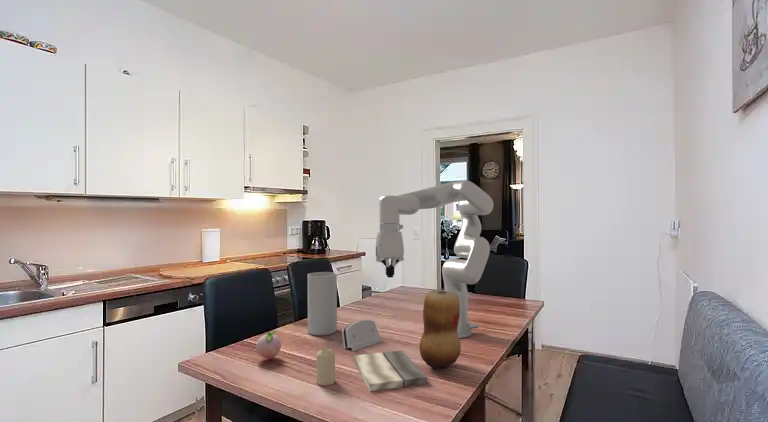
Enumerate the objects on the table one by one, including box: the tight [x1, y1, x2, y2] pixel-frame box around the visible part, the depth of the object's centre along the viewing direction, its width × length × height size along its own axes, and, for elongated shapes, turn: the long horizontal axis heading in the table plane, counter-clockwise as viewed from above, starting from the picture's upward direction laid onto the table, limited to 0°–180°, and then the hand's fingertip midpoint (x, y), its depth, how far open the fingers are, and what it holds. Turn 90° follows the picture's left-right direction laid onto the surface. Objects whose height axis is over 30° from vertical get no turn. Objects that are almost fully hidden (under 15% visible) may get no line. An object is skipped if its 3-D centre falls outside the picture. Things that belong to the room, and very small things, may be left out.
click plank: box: [352, 352, 404, 392], centre depth 124 cm, size 10×24×2 cm, turn 16°
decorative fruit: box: [255, 330, 282, 361], centre depth 137 cm, size 9×8×10 cm
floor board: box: [382, 349, 428, 387], centre depth 127 cm, size 7×24×2 cm, turn 16°
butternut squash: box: [418, 289, 462, 369], centre depth 129 cm, size 14×13×25 cm
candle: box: [316, 346, 336, 387], centre depth 118 cm, size 6×6×10 cm
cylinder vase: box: [307, 271, 338, 337], centre depth 170 cm, size 12×12×25 cm
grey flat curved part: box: [341, 319, 383, 352], centre depth 153 cm, size 17×5×10 cm, turn 137°
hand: (390, 276), depth 147 cm, fingers closed
